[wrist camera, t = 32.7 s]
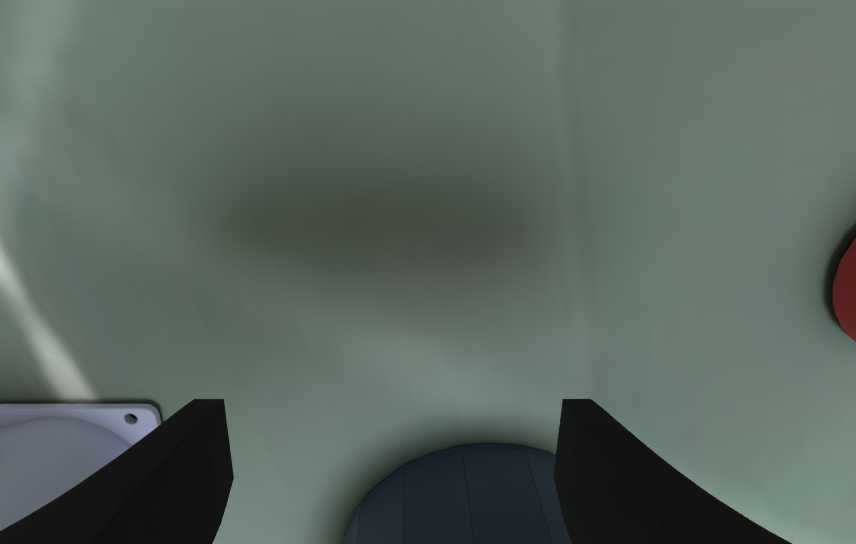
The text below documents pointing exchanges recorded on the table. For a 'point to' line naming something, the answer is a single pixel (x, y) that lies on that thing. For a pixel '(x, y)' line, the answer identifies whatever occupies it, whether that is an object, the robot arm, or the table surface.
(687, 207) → the table surface
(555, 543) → the tin
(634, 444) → the robot arm
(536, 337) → the table surface
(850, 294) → the beer can
